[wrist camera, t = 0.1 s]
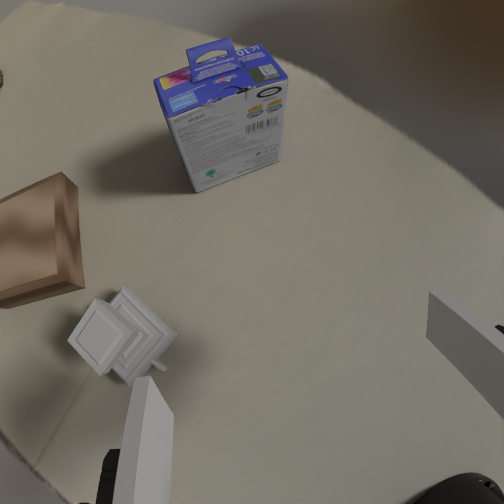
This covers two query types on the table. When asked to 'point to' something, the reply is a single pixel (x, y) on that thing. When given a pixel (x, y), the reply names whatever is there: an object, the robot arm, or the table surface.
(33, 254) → the plinth
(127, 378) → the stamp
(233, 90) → the ink cartridge box
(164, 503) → the robot arm
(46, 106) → the table surface
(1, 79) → the stone slab
